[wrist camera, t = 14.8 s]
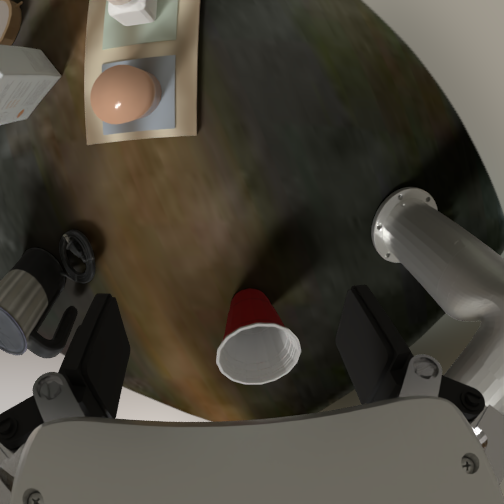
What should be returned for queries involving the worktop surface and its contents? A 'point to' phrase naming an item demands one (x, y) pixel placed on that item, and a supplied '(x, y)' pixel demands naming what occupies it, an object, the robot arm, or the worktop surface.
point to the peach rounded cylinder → (125, 94)
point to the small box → (23, 81)
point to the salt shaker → (133, 11)
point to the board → (146, 67)
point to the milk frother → (40, 296)
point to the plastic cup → (256, 341)
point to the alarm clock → (9, 21)
